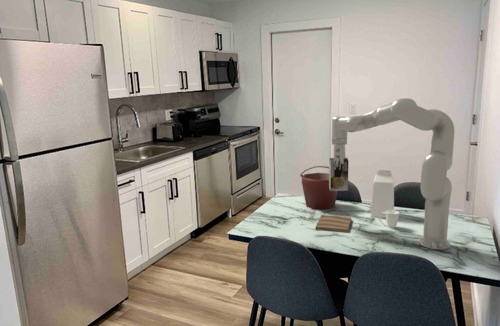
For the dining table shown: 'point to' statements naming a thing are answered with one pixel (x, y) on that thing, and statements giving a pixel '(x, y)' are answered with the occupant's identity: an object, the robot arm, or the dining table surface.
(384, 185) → the milk
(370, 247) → the dining table surface
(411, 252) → the dining table surface
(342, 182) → the coffee box
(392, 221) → the cup
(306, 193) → the bucket
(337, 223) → the walnut board
